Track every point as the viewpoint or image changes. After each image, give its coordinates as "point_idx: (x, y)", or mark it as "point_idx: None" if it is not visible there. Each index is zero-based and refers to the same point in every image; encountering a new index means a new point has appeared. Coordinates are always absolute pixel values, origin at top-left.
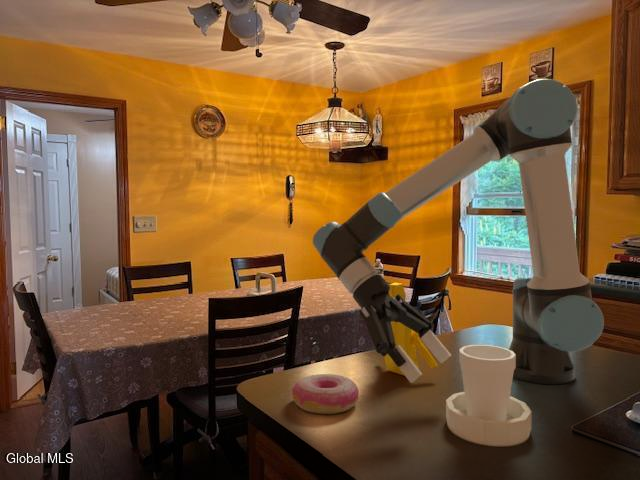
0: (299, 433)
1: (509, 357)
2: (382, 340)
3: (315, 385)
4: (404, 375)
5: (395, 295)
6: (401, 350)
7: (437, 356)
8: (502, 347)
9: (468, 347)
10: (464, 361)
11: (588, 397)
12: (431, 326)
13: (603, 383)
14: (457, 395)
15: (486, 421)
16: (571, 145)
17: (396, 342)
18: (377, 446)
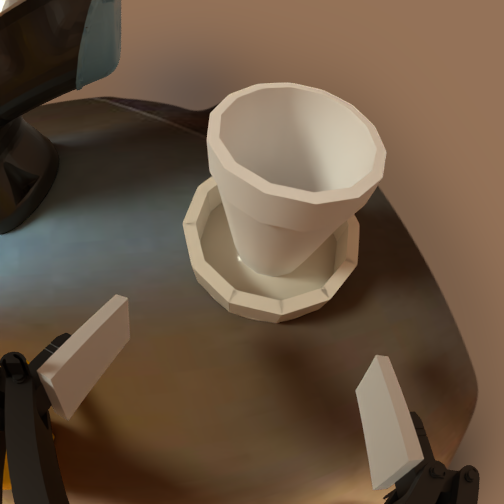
0: None
1: (322, 93)
2: (477, 489)
3: None
4: (53, 440)
5: None
6: (416, 438)
7: (117, 349)
8: (224, 99)
9: (260, 178)
10: (364, 199)
11: (103, 127)
12: (20, 363)
13: (59, 120)
14: (239, 291)
15: (353, 221)
16: None
17: (6, 472)
18: (420, 405)
